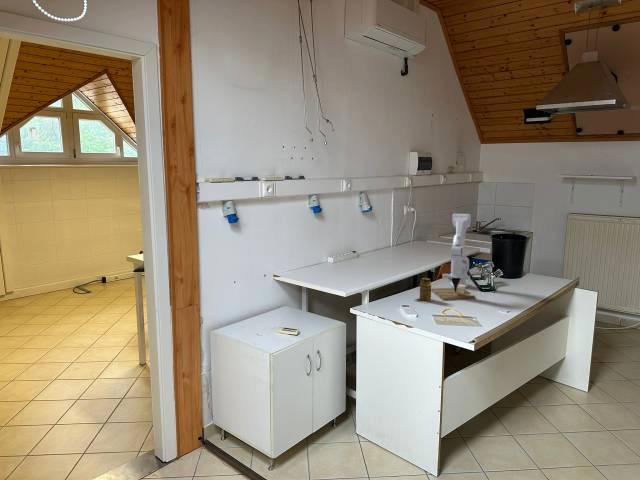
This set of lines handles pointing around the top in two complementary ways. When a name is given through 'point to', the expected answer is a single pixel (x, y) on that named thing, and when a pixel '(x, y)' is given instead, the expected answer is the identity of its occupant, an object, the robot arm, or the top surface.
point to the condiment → (425, 290)
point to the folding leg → (461, 289)
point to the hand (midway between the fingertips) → (455, 291)
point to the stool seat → (451, 294)
